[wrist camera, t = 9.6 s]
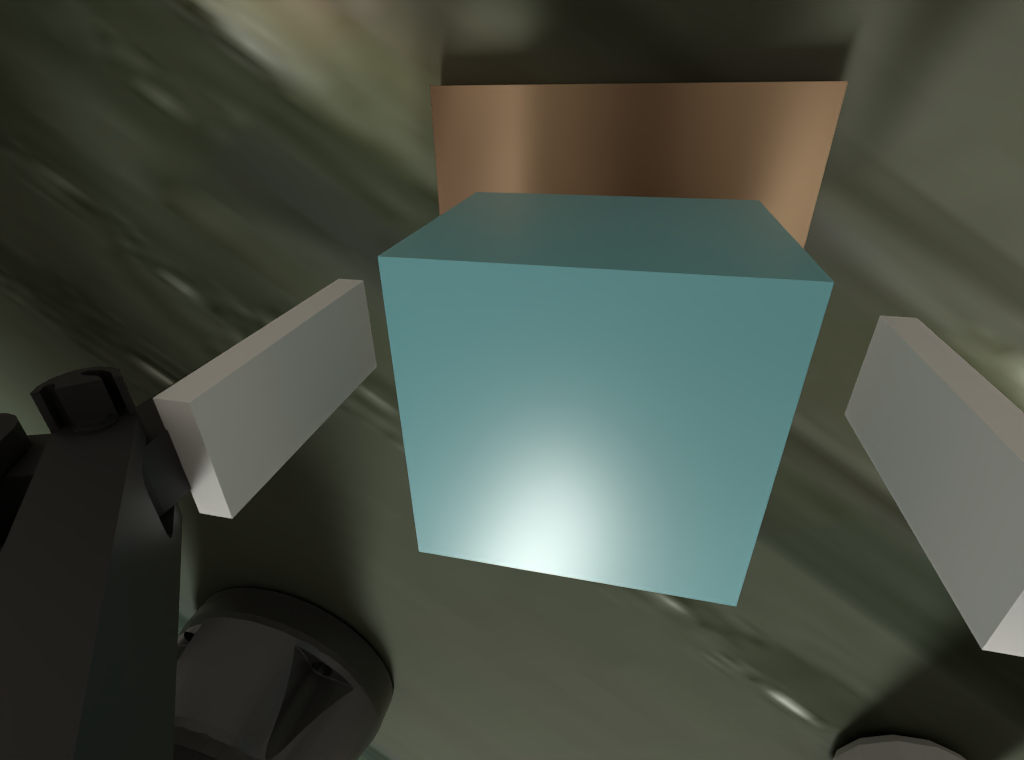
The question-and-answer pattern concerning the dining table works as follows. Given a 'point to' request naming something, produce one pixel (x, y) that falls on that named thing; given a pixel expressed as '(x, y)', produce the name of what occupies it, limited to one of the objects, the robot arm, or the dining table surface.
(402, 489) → the dining table surface
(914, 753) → the water bottle
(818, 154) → the wooden peg stand
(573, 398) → the teal block
